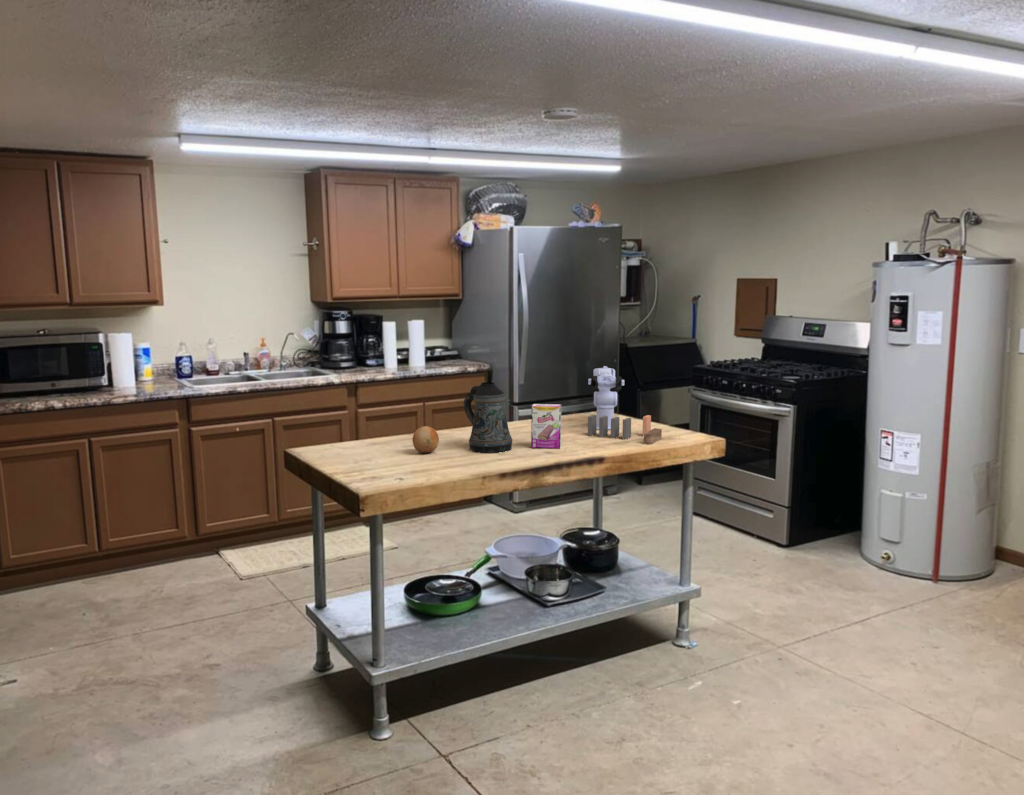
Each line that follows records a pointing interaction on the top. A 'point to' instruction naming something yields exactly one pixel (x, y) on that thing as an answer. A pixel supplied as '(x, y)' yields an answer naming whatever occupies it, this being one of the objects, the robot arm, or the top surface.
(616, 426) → the domino
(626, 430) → the domino
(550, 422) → the candy bar box
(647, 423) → the domino
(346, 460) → the top surface
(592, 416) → the domino
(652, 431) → the end block
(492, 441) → the beer stein
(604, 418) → the domino
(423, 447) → the onion
